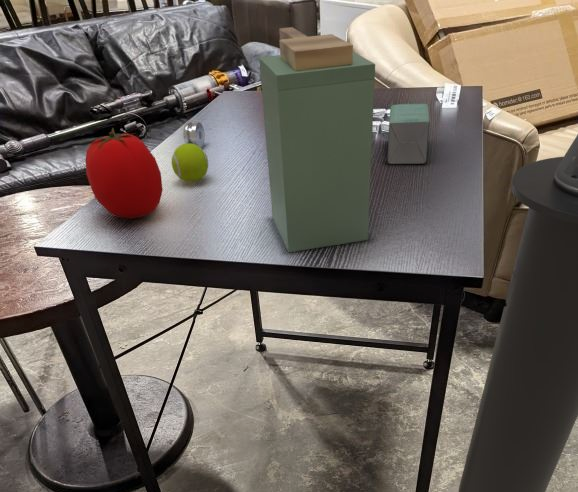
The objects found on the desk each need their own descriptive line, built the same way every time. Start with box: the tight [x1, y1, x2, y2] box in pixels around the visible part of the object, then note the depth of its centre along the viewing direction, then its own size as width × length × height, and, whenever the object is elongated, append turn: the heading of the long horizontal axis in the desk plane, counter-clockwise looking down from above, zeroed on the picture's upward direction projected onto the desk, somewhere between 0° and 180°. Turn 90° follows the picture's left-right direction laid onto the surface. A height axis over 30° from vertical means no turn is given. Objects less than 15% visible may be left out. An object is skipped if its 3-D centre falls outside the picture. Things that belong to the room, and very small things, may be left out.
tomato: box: [85, 127, 164, 220], centre depth 85 cm, size 12×12×13 cm
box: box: [387, 103, 431, 165], centre depth 102 cm, size 7×14×8 cm, turn 171°
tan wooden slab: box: [278, 26, 354, 71], centre depth 70 cm, size 22×7×2 cm, turn 12°
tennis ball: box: [171, 143, 209, 183], centre depth 97 cm, size 7×7×7 cm
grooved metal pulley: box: [183, 121, 206, 149], centre depth 113 cm, size 5×3×5 cm, turn 166°
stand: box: [258, 51, 376, 253], centre depth 73 cm, size 12×12×22 cm
